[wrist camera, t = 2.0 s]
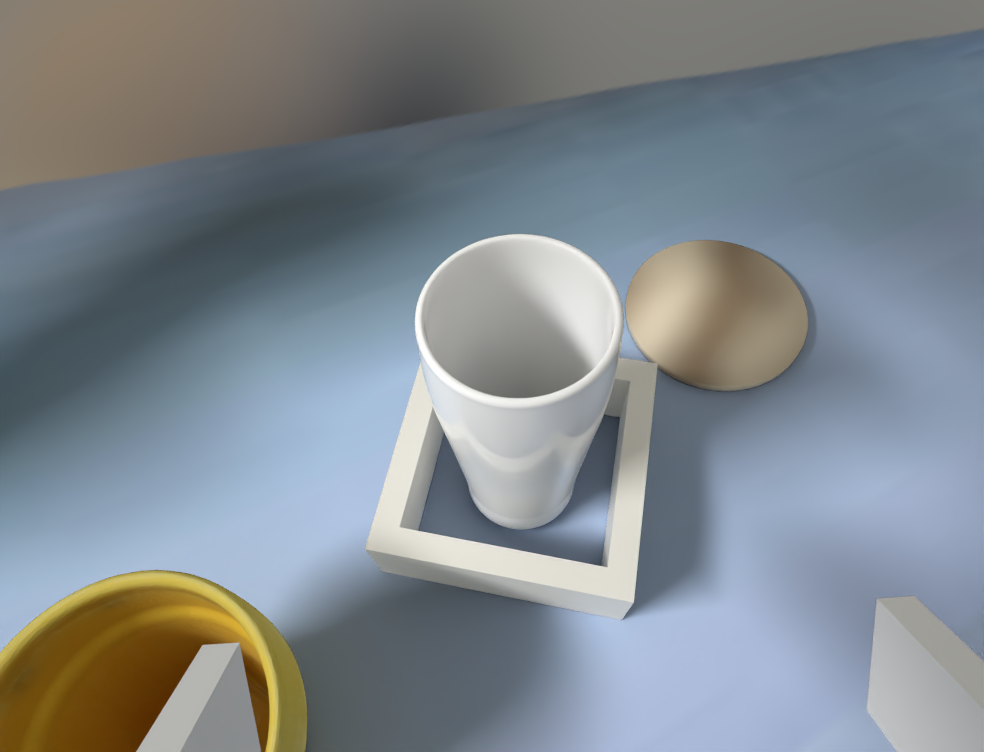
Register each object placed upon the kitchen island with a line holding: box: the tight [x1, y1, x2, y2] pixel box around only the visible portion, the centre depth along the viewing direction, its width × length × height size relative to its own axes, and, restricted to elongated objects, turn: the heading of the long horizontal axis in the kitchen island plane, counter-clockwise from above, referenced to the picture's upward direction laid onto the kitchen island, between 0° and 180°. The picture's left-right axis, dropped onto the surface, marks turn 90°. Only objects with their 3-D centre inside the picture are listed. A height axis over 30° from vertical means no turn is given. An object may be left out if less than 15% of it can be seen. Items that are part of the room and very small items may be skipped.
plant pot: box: [0, 570, 307, 752], centre depth 25 cm, size 10×10×10 cm
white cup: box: [415, 234, 624, 530], centre depth 28 cm, size 7×7×15 cm
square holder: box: [365, 358, 658, 620], centre depth 33 cm, size 11×11×4 cm
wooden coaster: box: [625, 240, 808, 391], centre depth 38 cm, size 10×10×1 cm
